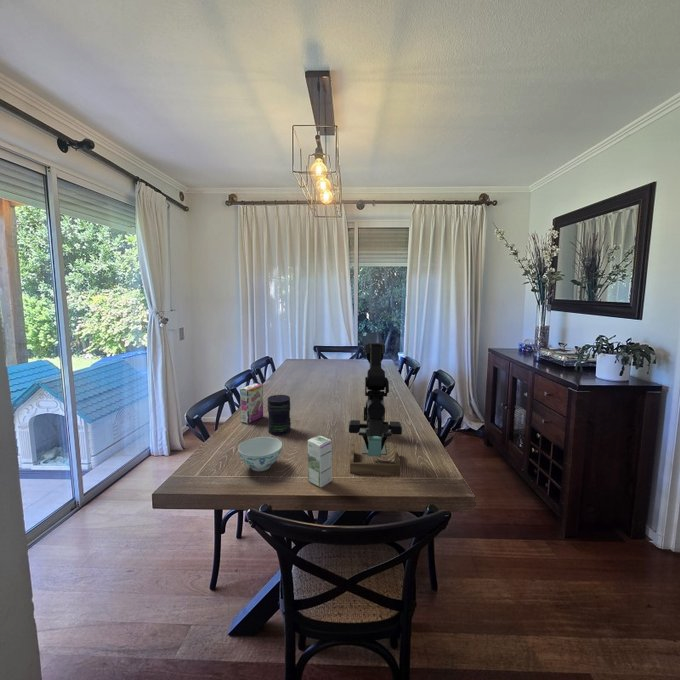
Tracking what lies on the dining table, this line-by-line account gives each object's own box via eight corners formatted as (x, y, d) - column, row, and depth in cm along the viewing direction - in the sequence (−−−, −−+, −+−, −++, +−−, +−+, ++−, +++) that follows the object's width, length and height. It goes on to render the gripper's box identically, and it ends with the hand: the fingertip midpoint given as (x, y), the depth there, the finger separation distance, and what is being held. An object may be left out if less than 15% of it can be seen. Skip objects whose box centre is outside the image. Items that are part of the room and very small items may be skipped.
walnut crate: (351, 452, 135) (351, 444, 135) (396, 454, 134) (396, 445, 133) (349, 473, 120) (350, 463, 120) (400, 475, 119) (400, 465, 119)
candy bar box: (248, 424, 162) (247, 389, 160) (240, 422, 164) (239, 388, 162) (264, 416, 172) (263, 384, 170) (256, 414, 174) (255, 382, 172)
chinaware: (232, 463, 126) (232, 443, 125) (271, 452, 135) (271, 433, 134) (248, 482, 114) (247, 460, 113) (289, 469, 123) (289, 448, 122)
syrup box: (332, 481, 115) (332, 439, 113) (319, 488, 111) (319, 445, 109) (320, 474, 119) (320, 434, 117) (307, 482, 115) (306, 439, 113)
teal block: (368, 450, 131) (368, 435, 130) (380, 450, 130) (380, 435, 130) (368, 456, 126) (368, 440, 125) (380, 456, 126) (381, 440, 125)
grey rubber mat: (362, 443, 143) (362, 442, 143) (384, 444, 143) (384, 443, 142) (362, 453, 134) (362, 453, 134) (385, 454, 134) (385, 454, 134)
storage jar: (295, 431, 155) (294, 398, 153) (276, 437, 148) (275, 403, 146) (282, 424, 162) (281, 393, 160) (263, 430, 155) (262, 397, 153)
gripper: (348, 415, 119) (347, 459, 121) (404, 417, 117) (402, 461, 120) (349, 404, 130) (349, 444, 132) (401, 406, 128) (399, 446, 131)
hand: (374, 449), depth 128 cm, fingers closed on teal block, 4 cm apart
